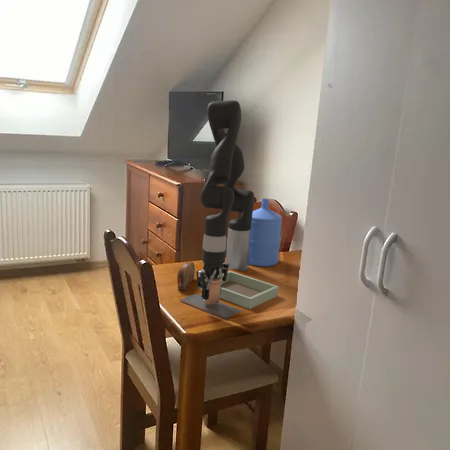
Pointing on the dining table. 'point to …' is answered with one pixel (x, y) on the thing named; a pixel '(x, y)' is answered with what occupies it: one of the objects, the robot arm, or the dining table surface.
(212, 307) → the slate tile
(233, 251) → the robot arm
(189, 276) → the tin
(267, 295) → the pale green tray
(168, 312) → the dining table surface
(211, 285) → the clay pot
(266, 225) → the water jug
